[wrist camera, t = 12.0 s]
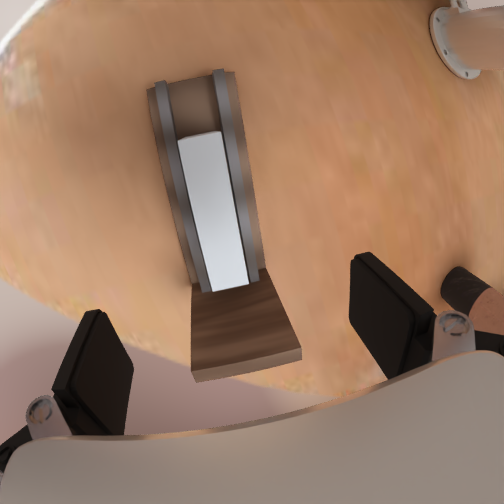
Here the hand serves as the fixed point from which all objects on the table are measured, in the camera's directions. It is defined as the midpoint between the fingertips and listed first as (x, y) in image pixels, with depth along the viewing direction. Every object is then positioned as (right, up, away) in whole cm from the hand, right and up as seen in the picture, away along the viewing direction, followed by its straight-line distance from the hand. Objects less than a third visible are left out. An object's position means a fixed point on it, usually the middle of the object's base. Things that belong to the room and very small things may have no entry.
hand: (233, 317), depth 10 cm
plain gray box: (-4, +9, +20) cm, 22 cm away
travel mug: (+39, -3, +35) cm, 52 cm away
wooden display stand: (-4, +10, +21) cm, 23 cm away
